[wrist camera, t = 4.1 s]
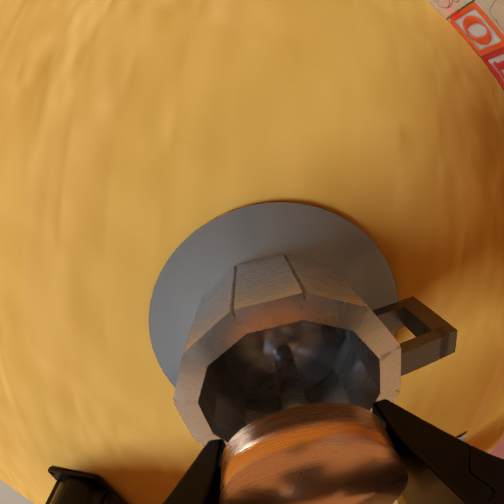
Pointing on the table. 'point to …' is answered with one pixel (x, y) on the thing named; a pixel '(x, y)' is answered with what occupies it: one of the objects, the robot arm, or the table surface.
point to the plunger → (304, 429)
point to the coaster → (252, 248)
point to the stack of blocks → (479, 28)
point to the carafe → (288, 311)
